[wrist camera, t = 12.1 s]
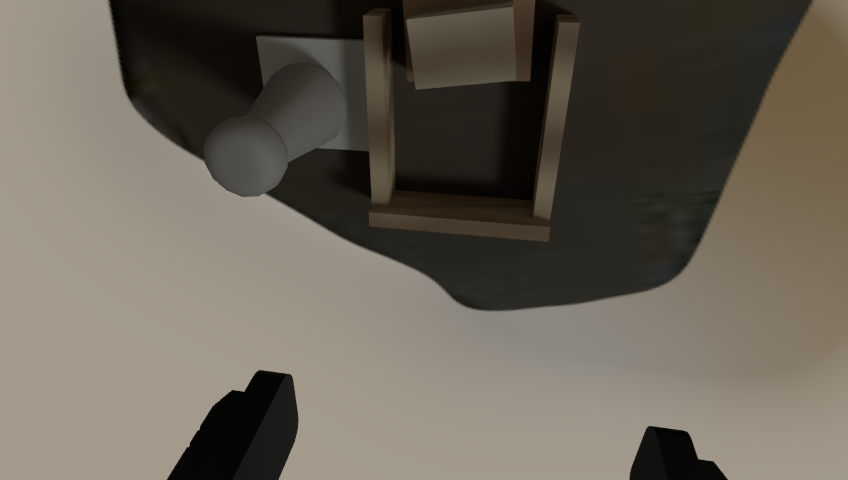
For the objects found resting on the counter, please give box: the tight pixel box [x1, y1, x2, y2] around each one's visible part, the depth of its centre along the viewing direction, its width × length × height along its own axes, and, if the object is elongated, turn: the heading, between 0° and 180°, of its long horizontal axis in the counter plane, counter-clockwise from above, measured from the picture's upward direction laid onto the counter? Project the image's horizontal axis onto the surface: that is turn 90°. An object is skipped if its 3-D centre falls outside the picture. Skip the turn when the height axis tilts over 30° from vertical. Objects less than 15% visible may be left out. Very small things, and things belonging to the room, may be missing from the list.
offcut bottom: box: [403, 0, 535, 81], centre depth 34 cm, size 5×8×3 cm, turn 92°
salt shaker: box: [203, 63, 347, 197], centre depth 33 cm, size 6×6×13 cm
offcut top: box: [406, 0, 516, 89], centre depth 32 cm, size 4×6×3 cm, turn 98°
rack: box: [363, 8, 580, 242], centre depth 37 cm, size 15×13×4 cm
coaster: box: [256, 35, 369, 151], centre depth 39 cm, size 8×8×1 cm
